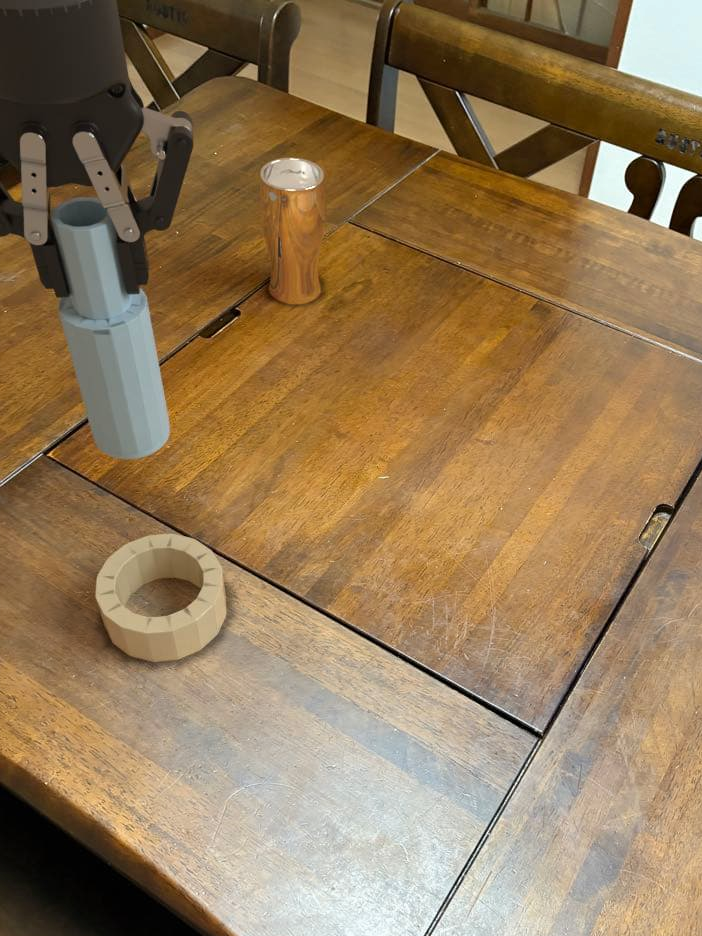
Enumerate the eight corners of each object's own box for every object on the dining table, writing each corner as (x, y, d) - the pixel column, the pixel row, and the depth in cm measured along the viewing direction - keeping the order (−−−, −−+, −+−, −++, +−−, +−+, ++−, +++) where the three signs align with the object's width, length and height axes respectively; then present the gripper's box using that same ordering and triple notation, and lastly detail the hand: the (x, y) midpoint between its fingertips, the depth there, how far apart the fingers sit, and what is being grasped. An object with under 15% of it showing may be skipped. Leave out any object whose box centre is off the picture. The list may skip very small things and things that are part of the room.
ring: (103, 672, 73) (91, 638, 69) (109, 575, 79) (99, 538, 75) (228, 661, 74) (223, 626, 70) (225, 566, 80) (220, 529, 76)
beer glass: (317, 318, 104) (317, 196, 92) (257, 308, 104) (249, 185, 92) (331, 283, 108) (332, 162, 96) (273, 273, 108) (268, 151, 97)
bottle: (92, 462, 62) (29, 240, 49) (96, 410, 66) (38, 190, 53) (170, 456, 63) (129, 237, 50) (170, 406, 66) (131, 187, 53)
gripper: (183, -58, 45) (216, 249, 59) (-123, -62, 43) (-17, 257, 56) (185, 3, 41) (220, 321, 54) (-158, 1, 38) (-34, 333, 52)
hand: (98, 287), depth 55 cm, fingers closed on bottle, 3 cm apart
